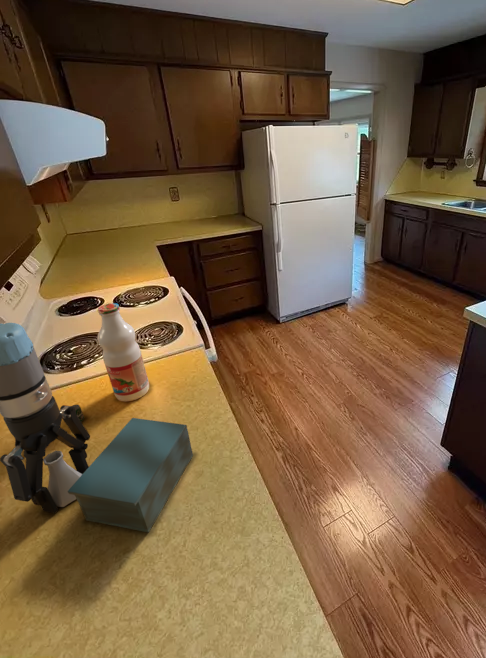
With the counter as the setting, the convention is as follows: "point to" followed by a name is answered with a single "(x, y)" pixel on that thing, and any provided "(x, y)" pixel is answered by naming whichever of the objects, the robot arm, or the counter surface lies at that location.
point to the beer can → (79, 412)
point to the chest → (151, 499)
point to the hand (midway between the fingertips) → (68, 490)
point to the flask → (60, 478)
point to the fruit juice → (121, 355)
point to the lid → (129, 462)
